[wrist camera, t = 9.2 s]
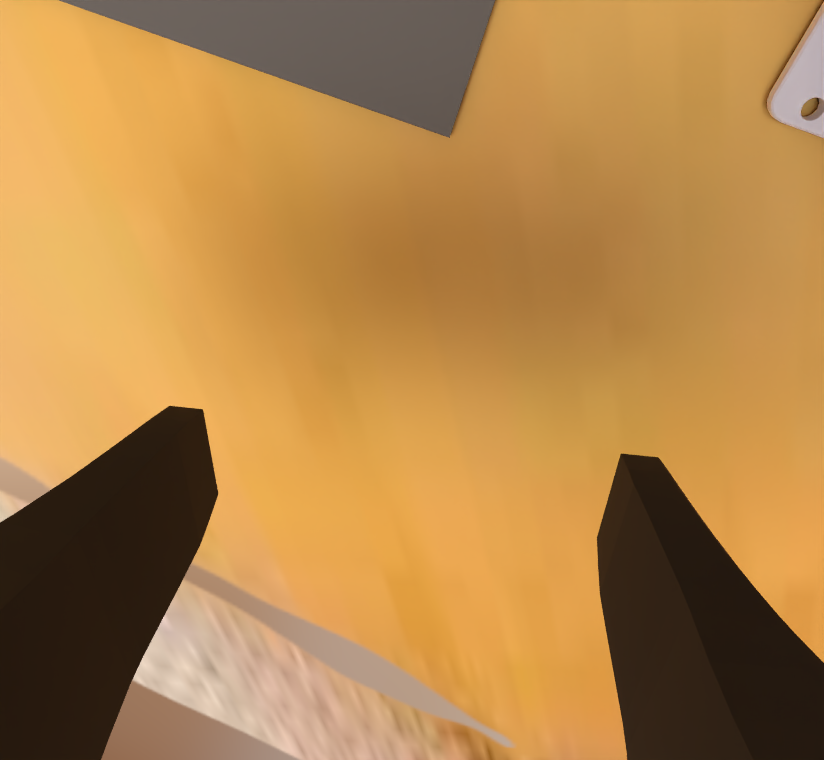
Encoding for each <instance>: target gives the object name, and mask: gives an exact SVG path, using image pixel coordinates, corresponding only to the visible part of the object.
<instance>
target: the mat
mask: <svg viewBox="0 0 824 760" xmlns="http://www.w3.org/2000/svg"><path fill="white" fill-rule="evenodd" d="M60 1H62V2H65V3H68V4H71V5H74V6H77V7H80V8H82V9H85V10H88V11H91V12H94V13H97V14H99V15H102V16H105V17H108V18H111V19H114V20H116V21H119V22H122V23H125V24H128V25H131V26H134V27H136V28H139V29H142V30H145V31H148V32H151V33H153V34H156V35H159V36H162V37H165V38H168V39H170V40H173V41H176V42H179V43H182V44H185V45H188V46H190V47H193V48H196V49H199V50H202V51H205V52H207V53H210V54H213V55H216V56H219V57H222V58H224V59H227V60H230V61H233V62H236V63H239V64H241V65H244V66H247V67H250V68H253V69H256V70H259V71H261V72H264V73H267V74H270V75H273V76H276V77H278V78H281V79H284V80H287V81H290V82H293V83H295V84H298V85H301V86H304V87H307V88H310V89H313V90H315V91H318V92H321V93H324V94H327V95H330V96H332V97H335V98H338V99H341V100H344V101H347V102H349V103H352V104H355V105H358V106H361V107H364V108H367V109H369V110H372V111H375V112H378V113H381V114H384V115H386V116H389V117H392V118H395V119H398V120H401V121H403V122H406V123H409V124H412V125H415V126H418V127H420V128H423V129H426V130H429V131H432V132H435V133H438V134H440V135H443V136H446V137H449V138H450V135H451V132H452V129H453V126H454V123H455V120H456V117H457V114H458V111H459V108H460V105H461V101H462V98H463V95H464V92H465V89H466V86H467V83H468V80H469V77H470V74H471V71H472V68H473V65H474V62H475V59H476V56H477V53H478V50H479V47H480V44H481V41H482V38H483V35H484V32H485V29H486V26H487V23H488V20H489V17H490V14H491V11H492V8H493V5H494V2H495V0H60Z"/></svg>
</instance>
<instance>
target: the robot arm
mask: <svg viewBox="0 0 824 760" xmlns="http://www.w3.org/2000/svg"><path fill="white" fill-rule="evenodd" d="M812 98H818V99H819V105H818V108H817V110H816V111H815V112H814V113H813V114H811V115H809V116H806V117H805V116H801V109H802V106H803V105H804V104H805V103H806V102H807V100H809V99H812ZM767 109H768V111H769V113H770V115H771V116H772V117H774V118H775V119H776V120H778V121H779V122H781V123H784V124H787V125H789V126H792V127H795V128H797V129H800V130H803V131H806V132H808V133H811V134H814V135H816V136H819V137H822V138H824V2H823V4H822V5H821V7H820V9H819V10H818V12H817V14H816V15H815V17H814V19H813V21H812V22H811V24H810V26H809V27H808V29H807V31H806V32H805V34H804V36H803V37H802V39H801V41H800V42H799V44H798V46H797V48H796V49H795V51H794V53H793V54H792V56H791V58H790V59H789V61H788V63H787V64H786V66H785V68H784V70H783V71H782V73H781V75H780V76H779V78H778V80H777V81H776V83H775V85H774V86H773V88H772V90H771V91H770V94H769V96H768V99H767ZM217 496H218V490H217V484H216V479H215V473H214V468H213V462H212V457H211V451H210V446H209V440H208V435H207V429H206V424H205V418H204V413H203V409H194V408H185V407H175V406H169V407H167V408H166V409H164V410H163V411H161V412H160V413H158V414H157V415H156V416H154V417H153V418H151V419H150V420H149V421H147V422H146V423H145V424H143V425H142V426H140V427H139V428H138V429H136V430H135V431H134V432H132V433H131V434H130V435H128V436H127V437H125V438H124V439H123V440H121V441H120V442H119V443H117V444H116V445H115V446H113V447H112V448H110V449H109V450H108V451H106V452H105V453H104V454H102V455H101V456H99V457H98V458H97V459H95V460H94V461H92V462H91V463H90V464H88V465H87V466H85V467H84V468H83V469H81V470H80V471H78V472H77V473H76V474H74V475H73V476H71V477H70V478H68V479H67V480H65V481H64V482H62V483H61V484H59V485H58V486H56V487H55V488H53V489H52V490H50V491H49V492H47V493H46V494H44V495H43V496H41V497H39V498H38V499H36V500H35V501H33V502H32V503H30V504H29V505H27V506H26V507H24V508H23V509H21V510H20V511H18V512H17V513H15V514H14V515H12V516H10V517H9V518H7V519H5V520H4V521H2V522H0V760H101V758H102V755H103V753H104V750H105V747H106V744H107V742H108V739H109V736H110V734H111V731H112V729H113V726H114V724H115V721H116V719H117V716H118V714H119V711H120V709H121V706H122V704H123V701H124V699H125V696H126V694H127V691H128V689H129V686H130V684H131V681H132V679H133V677H134V675H135V673H136V671H137V668H138V666H139V664H140V662H141V660H142V658H143V656H144V654H145V652H146V650H147V648H148V646H149V644H150V642H151V640H152V638H153V636H154V634H155V632H156V630H157V629H158V627H159V625H160V623H161V621H162V619H163V617H164V615H165V613H166V611H167V609H168V607H169V605H170V603H171V601H172V600H173V598H174V596H175V594H176V592H177V590H178V588H179V586H180V584H181V582H182V580H183V578H184V576H185V574H186V572H187V570H188V568H189V566H190V564H191V562H192V560H193V558H194V556H195V554H196V552H197V550H198V548H199V546H200V544H201V541H202V539H203V536H204V533H205V531H206V528H207V525H208V523H209V520H210V517H211V514H212V511H213V508H214V505H215V502H216V499H217ZM597 547H598V570H599V586H600V597H601V603H602V609H603V615H604V620H605V626H606V632H607V638H608V643H609V649H610V654H611V660H612V665H613V671H614V677H615V682H616V688H617V693H618V699H619V704H620V710H621V716H622V721H623V728H624V735H625V743H626V750H627V760H824V663H823V662H822V661H821V660H820V659H819V658H818V657H817V656H816V655H815V654H814V653H813V652H812V650H811V649H810V648H809V647H808V646H807V645H806V644H805V643H804V642H803V641H802V640H801V639H800V638H799V637H798V636H797V635H796V634H795V633H794V632H793V631H792V630H791V629H790V628H789V626H788V625H787V624H786V623H785V622H784V621H783V620H782V619H781V618H780V617H779V615H778V614H777V613H776V612H775V611H774V610H773V608H772V607H771V606H770V605H769V604H768V603H767V601H766V600H765V599H764V598H763V597H762V596H761V594H760V593H759V592H758V591H757V590H756V588H755V587H754V586H753V585H752V584H751V582H750V581H749V580H748V579H747V577H746V576H745V575H744V574H743V572H742V571H741V570H740V569H739V568H738V566H737V565H736V564H735V562H734V561H733V560H732V558H731V557H730V556H729V554H728V553H727V552H726V551H725V549H724V548H723V547H722V545H721V544H720V543H719V541H718V540H717V539H716V538H715V536H714V535H713V534H712V532H711V531H710V529H709V528H708V527H707V525H706V524H705V523H704V521H703V520H702V518H701V517H700V516H699V514H698V513H697V511H696V510H695V509H694V507H693V506H692V504H691V503H690V502H689V500H688V499H687V497H686V496H685V494H684V493H683V492H682V490H681V489H680V487H679V486H678V484H677V483H676V481H675V480H674V478H673V477H672V476H671V474H670V473H669V471H668V470H667V468H666V467H665V466H664V464H663V463H662V462H661V460H660V459H659V458H658V457H648V456H639V455H629V454H621V455H620V459H619V462H618V466H617V469H616V473H615V476H614V480H613V483H612V487H611V490H610V494H609V497H608V501H607V505H606V508H605V512H604V515H603V519H602V522H601V526H600V529H599V533H598V536H597Z"/></svg>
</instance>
